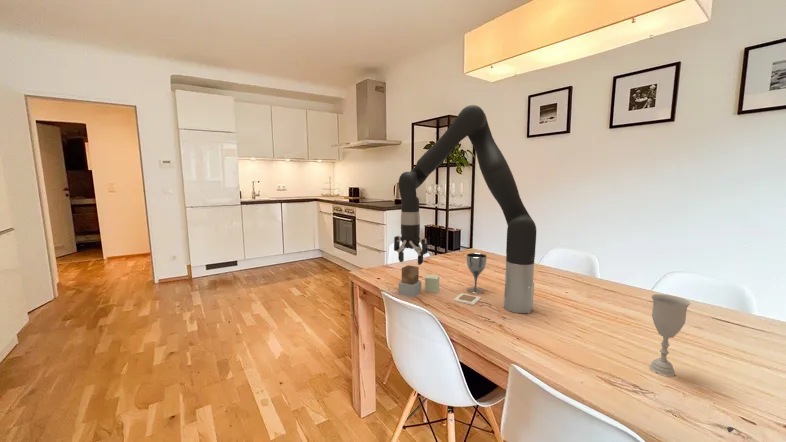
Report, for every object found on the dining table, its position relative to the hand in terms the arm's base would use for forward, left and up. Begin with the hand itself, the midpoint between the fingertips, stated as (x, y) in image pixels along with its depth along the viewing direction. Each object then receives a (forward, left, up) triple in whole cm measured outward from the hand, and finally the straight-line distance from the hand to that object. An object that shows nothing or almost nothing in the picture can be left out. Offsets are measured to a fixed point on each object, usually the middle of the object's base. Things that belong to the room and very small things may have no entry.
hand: (410, 263), depth 129 cm
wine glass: (-21, -18, -13) cm, 30 cm away
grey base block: (0, 0, -13) cm, 13 cm away
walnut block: (0, 0, -8) cm, 8 cm away
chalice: (-78, +12, -13) cm, 80 cm away
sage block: (-6, -8, -13) cm, 16 cm away
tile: (-22, -6, -13) cm, 26 cm away
